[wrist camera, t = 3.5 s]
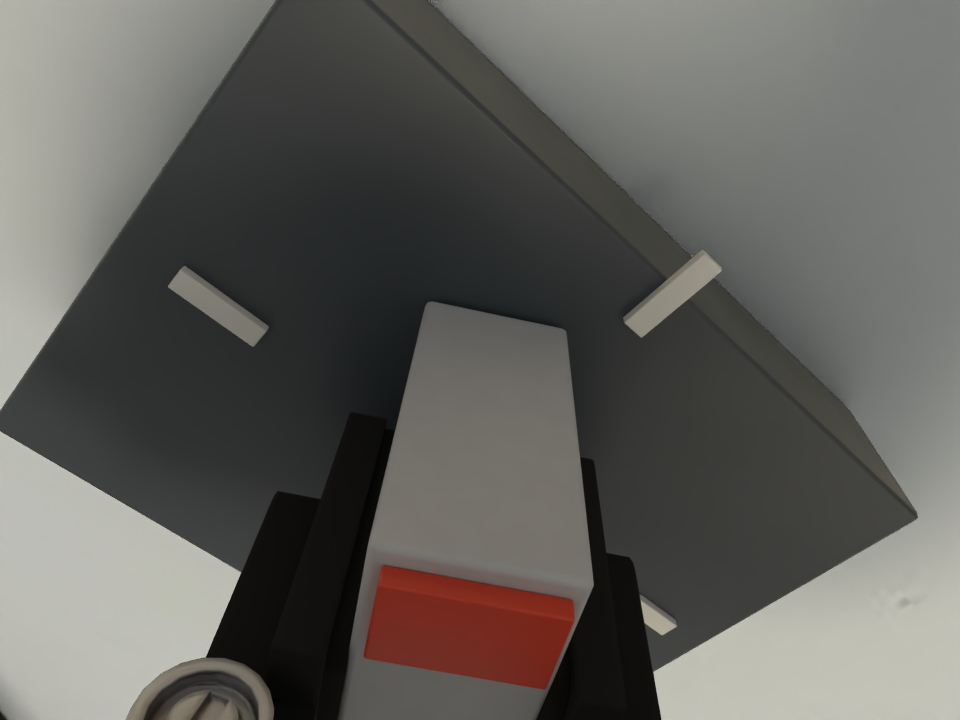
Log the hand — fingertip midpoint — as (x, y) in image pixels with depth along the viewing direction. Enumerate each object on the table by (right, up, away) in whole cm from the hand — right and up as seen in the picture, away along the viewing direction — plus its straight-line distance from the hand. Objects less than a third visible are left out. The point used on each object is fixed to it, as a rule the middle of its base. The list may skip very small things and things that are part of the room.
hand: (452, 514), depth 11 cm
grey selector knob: (0, +1, +1) cm, 1 cm away
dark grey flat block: (0, +2, +3) cm, 4 cm away
